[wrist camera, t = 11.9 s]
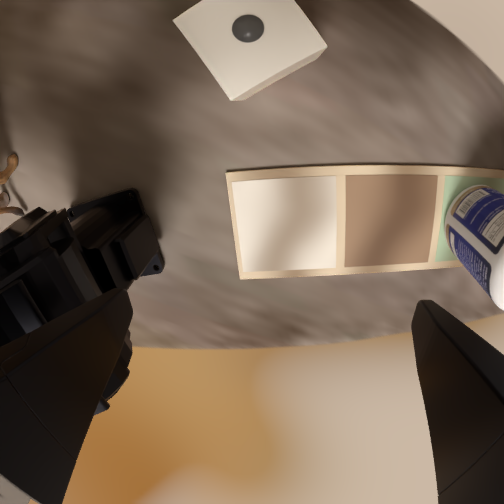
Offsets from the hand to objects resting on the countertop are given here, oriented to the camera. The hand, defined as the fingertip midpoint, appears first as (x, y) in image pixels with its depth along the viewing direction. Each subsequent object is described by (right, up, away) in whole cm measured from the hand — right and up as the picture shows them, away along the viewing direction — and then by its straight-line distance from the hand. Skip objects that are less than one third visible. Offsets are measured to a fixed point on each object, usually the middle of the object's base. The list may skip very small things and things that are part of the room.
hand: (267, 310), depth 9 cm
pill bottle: (+15, +4, +10) cm, 19 cm away
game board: (+9, +4, +11) cm, 14 cm away
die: (0, +14, +7) cm, 15 cm away
